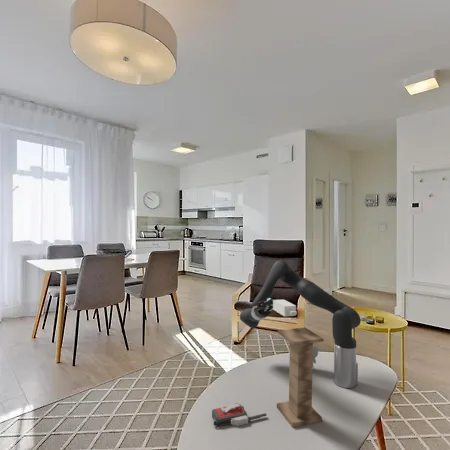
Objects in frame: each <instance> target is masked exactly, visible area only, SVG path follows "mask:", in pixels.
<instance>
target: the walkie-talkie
mask: <svg viewBox="0 0 450 450" xmlns="http://www.w3.org/2000/svg"><path fill="white" fill-rule="evenodd" d="M247 412H248V411H246V410H245V408H244V406H243V405H242V404H241V403H239V402H236V403H232V404H228V405H227V406H223V407H218V408H214V409H212V410H211V417H212V420H213V426H216V427H221V426H226V425H232V426H237V427H238V426H242V425H248V424H249V421H252V420H257V419H260V418H262V417H267V413H266V412H265V413H260V414H256V415H252V416H248V415H247Z"/></svg>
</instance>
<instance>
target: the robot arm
mask: <svg viewBox="0 0 450 450" xmlns="http://www.w3.org/2000/svg"><path fill="white" fill-rule="evenodd" d="M279 280H280V281H281V282H283V283H285V284H286V285H288V286H290V287H291V289H293V290H295V291H296V293H297V294H298V295H300V296H301V297H302V298H303V299H304V300H305V301H307V302H308V303H309V304H311V305H312V306H315V307H317V308H320V309H322V310H326V311H327V312H329V313H331V314H332V320H331V321H332V322H331V324H332V338H333V340H334V343H333V344H334V345H333V346H334V348H333V350H334V351H333V352H334V353H333V382H334V383H335V385H337V386H339V387H341V388H345V389H353V388H355V387H356V386H357V385H358V384H359V382H358V378H359V377H358V376H359V374H358V373H359V372H358V371H359V363H358V362H357V340H356V338H355V337H353V330H354V329H356V328H357V327H359V326H360V324H361V321H362V320H361V316H360V314H359V313H358V312H357V311H356V310H355V309H354V308H352V307H350V306H349V305H347V304H345V303H343V302H342V301H340V300H338V299H337V298H335V297H334V296H332V294H330V293H329V292H327V291H326V290H324V289H323V288H321V287H320V286H319V285H318V284H316V283H315V282H313V281H311V280H310V279H307V278H303V277H302V276H300V275H299V274H298V273H296V272H295V271H294V270H293V269H292V267H291V266H290V265H289V264H288V263H287V262H286V261H285V260H283V259H279V260H276V261H275V262H274V263H273V265H272V267H271V269H270V271H269V273H268V275H267V276H266V279H265V280H264V284H263V285H262V287H261V289H260V290H259V292H258V293H257V295H256V296H255V298H254V300H253V301H252V302H251V306H252V308H251V307H249V308H245V309H243V310H242V311H241V312H240V315H239V319H240V321H241V322H243V323H244V324H245V325H246V326H248V327H249V328H251V329H256V328H257V327H258V326H259V323H260V321H262V320H264V319H266V318H268V317H269V316H270V315H271V313H272V311H274V310H273V306H272V304H273V300H274V299H273V298H272V296H273V292H274V289H275V287H276V284H277V282H278V281H279ZM268 298H271V299H270V300H268V301H267V299H268ZM275 300H280V299H279V298H275Z"/></svg>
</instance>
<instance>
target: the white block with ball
mask: <svg viewBox="0 0 450 450" xmlns="http://www.w3.org/2000/svg"><path fill="white" fill-rule="evenodd" d="M270 299H272V297H271V298H268V299H267V301H268V300H270ZM272 306H273V310H272V311H275V312H277V313H278V314H280V315H281V316H283V317H294V316H296V315H297V314H298V312H297V309H296V308H297V305H296V304H293V303H292V302H290V301H288V300H286V299H279V300H276V299H273V304H272Z"/></svg>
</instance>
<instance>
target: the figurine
mask: <svg viewBox="0 0 450 450" xmlns="http://www.w3.org/2000/svg"><path fill="white" fill-rule="evenodd" d="M318 355H319V349H318V347H317V346H316V345H315V344H313V364H317V360H316V357H318ZM313 368H314V365H313V366H312V369H313Z"/></svg>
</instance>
